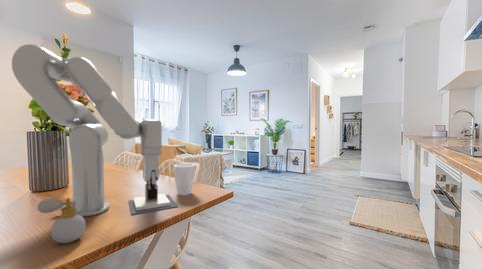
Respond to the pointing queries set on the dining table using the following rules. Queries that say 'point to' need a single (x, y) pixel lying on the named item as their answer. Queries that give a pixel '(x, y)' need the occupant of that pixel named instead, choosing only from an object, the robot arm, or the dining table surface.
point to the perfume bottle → (64, 220)
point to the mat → (134, 212)
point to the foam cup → (184, 178)
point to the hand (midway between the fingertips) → (151, 196)
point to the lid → (144, 203)
